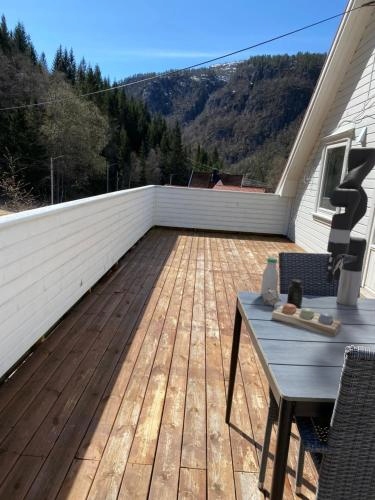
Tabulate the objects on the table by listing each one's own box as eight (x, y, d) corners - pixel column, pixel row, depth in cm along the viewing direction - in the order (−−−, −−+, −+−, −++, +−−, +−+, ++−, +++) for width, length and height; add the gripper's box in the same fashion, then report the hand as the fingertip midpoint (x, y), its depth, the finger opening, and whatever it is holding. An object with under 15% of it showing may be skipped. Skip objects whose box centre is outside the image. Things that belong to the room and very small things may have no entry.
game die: (273, 313, 160) (288, 298, 157) (265, 310, 154) (280, 295, 151) (261, 299, 166) (276, 285, 163) (253, 296, 159) (268, 281, 156)
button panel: (282, 311, 153) (282, 304, 152) (341, 326, 138) (342, 319, 138) (271, 318, 143) (272, 311, 142) (334, 336, 129) (335, 328, 128)
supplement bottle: (303, 304, 164) (306, 280, 161) (299, 308, 158) (302, 283, 156) (288, 301, 167) (291, 277, 165) (284, 304, 161) (287, 280, 159)
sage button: (302, 314, 143) (303, 307, 143) (313, 317, 141) (314, 309, 140) (299, 317, 140) (300, 309, 139) (310, 320, 137) (311, 312, 137)
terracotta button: (285, 309, 148) (286, 302, 147) (296, 312, 145) (296, 305, 144) (281, 312, 144) (282, 305, 143) (292, 315, 141) (293, 308, 141)
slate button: (321, 319, 139) (322, 311, 139) (332, 322, 136) (333, 314, 136) (317, 322, 135) (318, 314, 135) (329, 325, 133) (331, 317, 132)
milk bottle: (276, 300, 168) (280, 260, 164) (260, 298, 169) (264, 259, 165) (275, 295, 175) (279, 257, 171) (260, 293, 176) (264, 256, 173)
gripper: (334, 238, 139) (329, 277, 142) (322, 240, 129) (317, 281, 131) (354, 241, 135) (348, 280, 137) (343, 243, 124) (337, 286, 127)
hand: (333, 281), depth 134 cm, fingers open, 8 cm apart
